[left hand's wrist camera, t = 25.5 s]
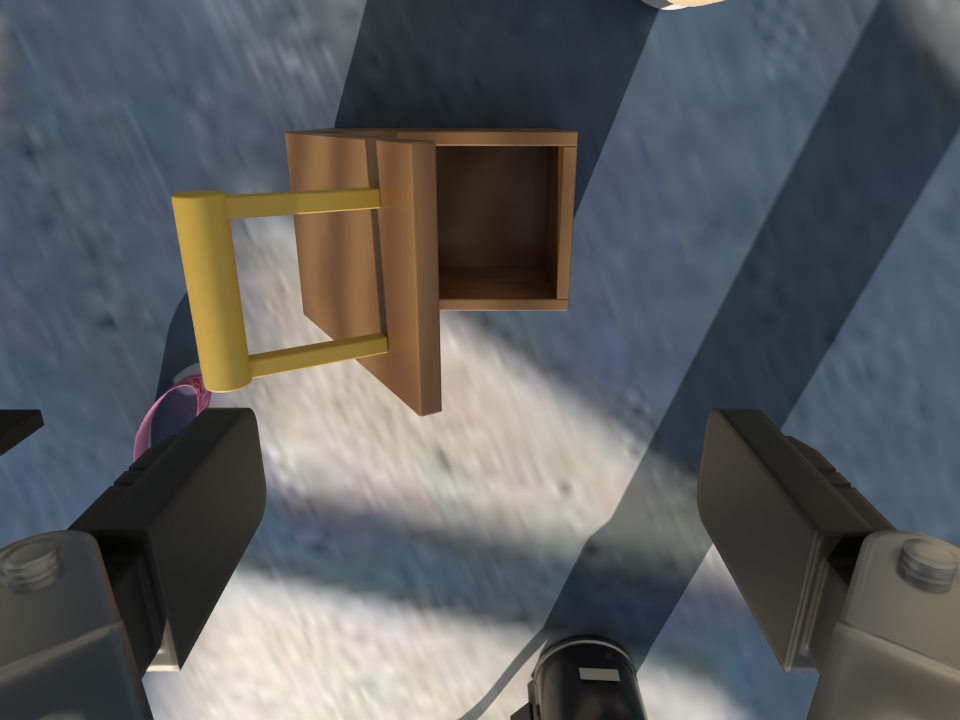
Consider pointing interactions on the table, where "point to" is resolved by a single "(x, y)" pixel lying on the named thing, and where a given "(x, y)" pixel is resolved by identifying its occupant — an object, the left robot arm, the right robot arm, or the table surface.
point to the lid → (330, 264)
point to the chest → (500, 214)
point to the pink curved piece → (142, 435)
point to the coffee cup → (677, 3)
